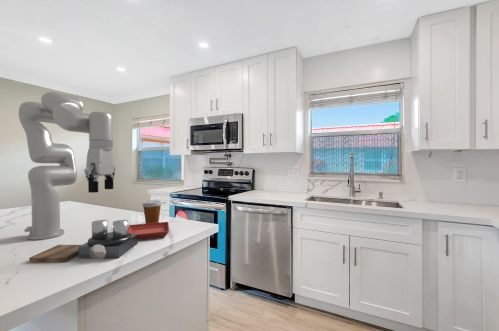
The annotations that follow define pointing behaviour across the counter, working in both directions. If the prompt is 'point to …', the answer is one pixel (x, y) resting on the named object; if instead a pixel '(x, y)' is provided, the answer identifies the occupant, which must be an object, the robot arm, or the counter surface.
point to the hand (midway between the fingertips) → (101, 190)
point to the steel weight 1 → (99, 229)
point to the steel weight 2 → (120, 229)
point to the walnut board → (56, 254)
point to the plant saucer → (149, 230)
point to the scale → (107, 247)
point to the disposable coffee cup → (152, 211)
